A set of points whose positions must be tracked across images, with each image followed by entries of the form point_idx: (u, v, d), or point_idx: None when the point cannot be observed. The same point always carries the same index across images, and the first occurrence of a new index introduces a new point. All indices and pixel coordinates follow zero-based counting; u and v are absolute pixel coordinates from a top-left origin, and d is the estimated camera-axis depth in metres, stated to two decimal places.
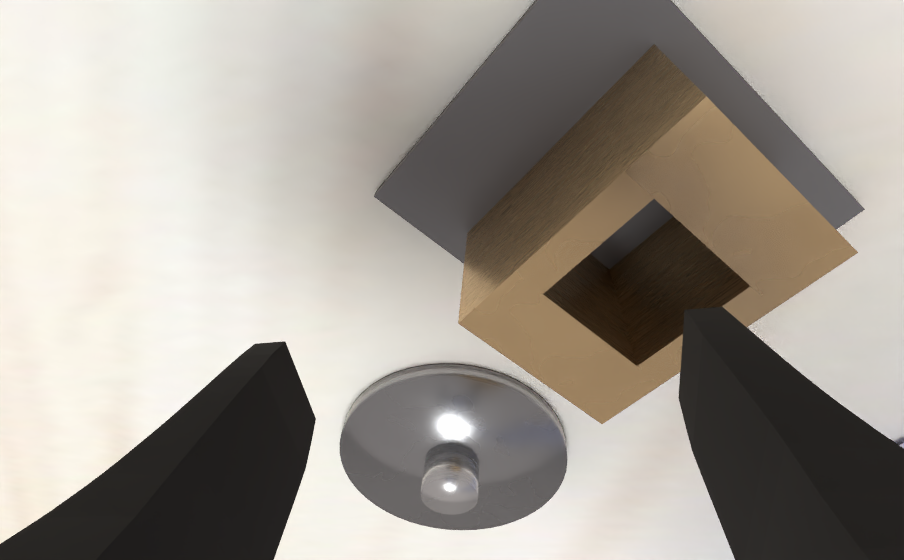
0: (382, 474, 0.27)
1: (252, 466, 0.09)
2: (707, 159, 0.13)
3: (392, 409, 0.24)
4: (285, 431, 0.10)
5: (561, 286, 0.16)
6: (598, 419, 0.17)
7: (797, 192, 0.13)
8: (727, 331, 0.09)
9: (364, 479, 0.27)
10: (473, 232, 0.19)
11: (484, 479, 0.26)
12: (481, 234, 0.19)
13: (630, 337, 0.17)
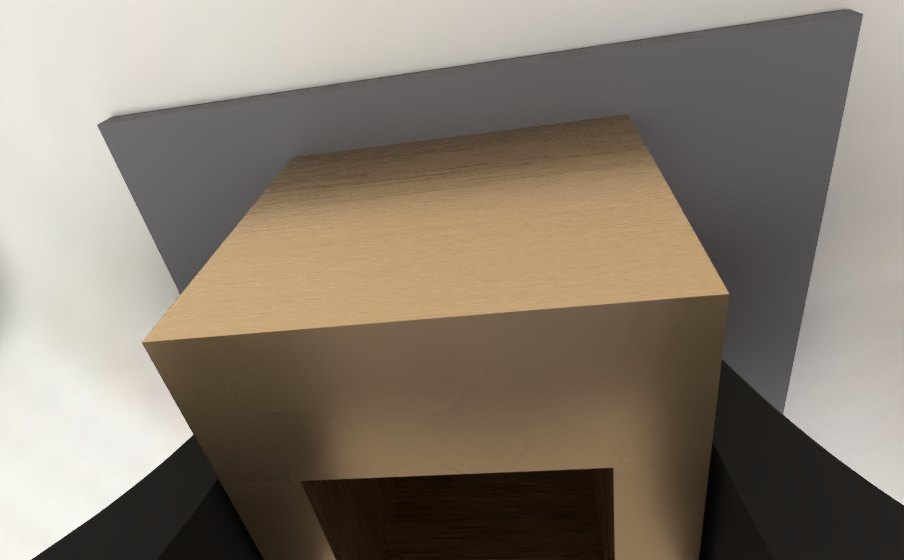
0: None
1: None
2: (273, 395, 0.06)
3: None
4: None
5: None
6: None
7: (457, 320, 0.05)
8: None
9: None
10: None
11: None
12: None
13: (604, 554, 0.09)
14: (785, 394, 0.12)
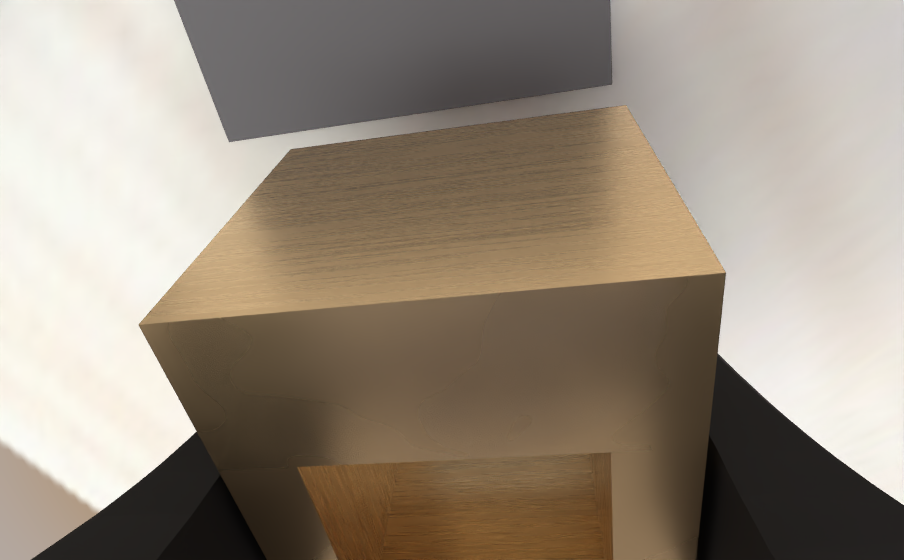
0: None
1: None
2: (270, 379, 0.06)
3: None
4: None
5: (429, 554, 0.10)
6: None
7: (454, 301, 0.05)
8: None
9: None
10: None
11: None
12: None
13: (602, 545, 0.09)
14: None
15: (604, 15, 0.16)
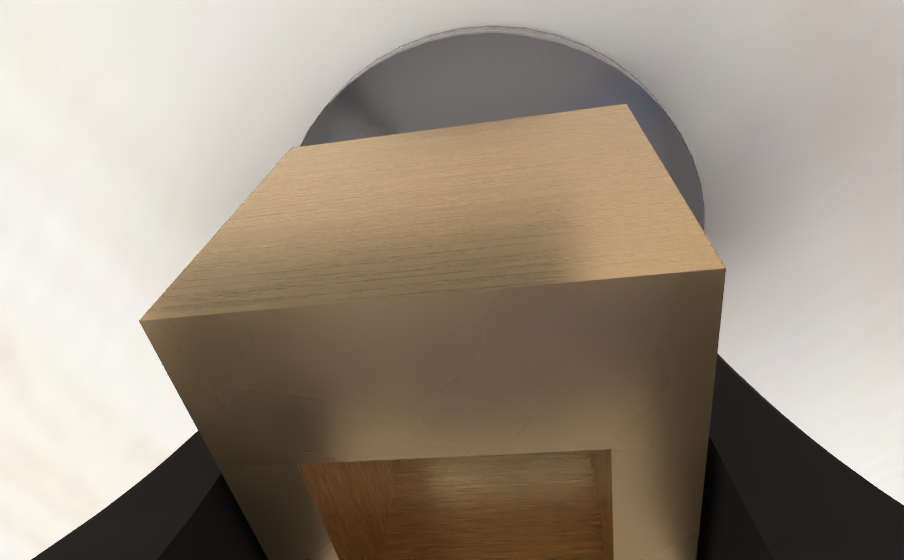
0: None
1: None
2: (270, 375, 0.06)
3: None
4: None
5: (429, 553, 0.10)
6: None
7: (454, 296, 0.05)
8: None
9: None
10: None
11: None
12: None
13: (603, 544, 0.09)
14: None
15: None
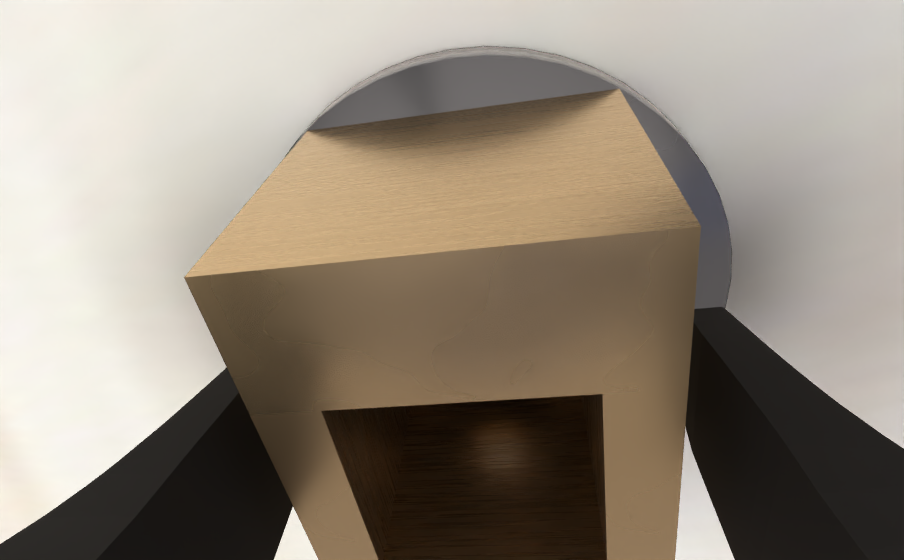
0: None
1: (252, 466, 0.09)
2: (299, 327, 0.07)
3: None
4: None
5: (436, 504, 0.10)
6: None
7: (464, 253, 0.06)
8: (726, 331, 0.09)
9: None
10: None
11: None
12: None
13: (597, 495, 0.10)
14: None
15: None
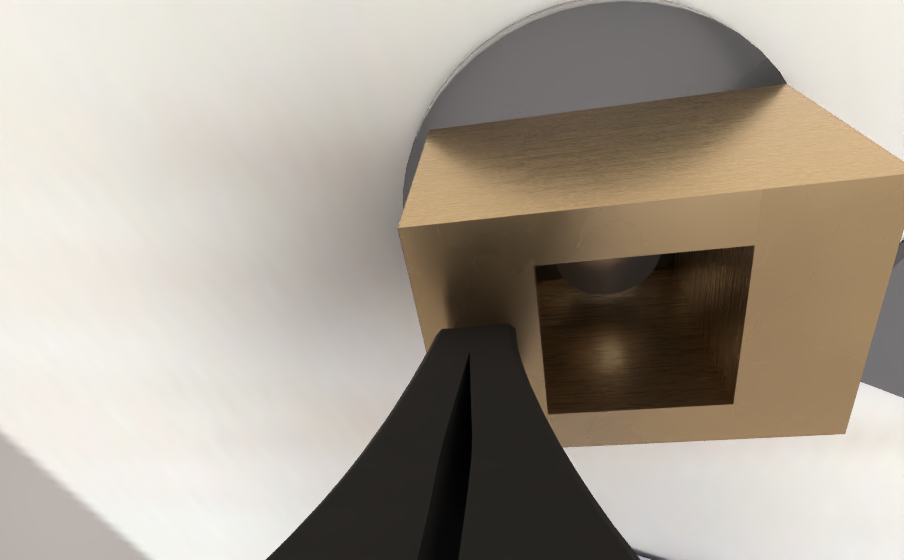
0: (521, 111, 0.14)
1: (468, 456, 0.09)
2: (844, 243, 0.09)
3: (713, 86, 0.13)
4: None
5: (534, 269, 0.12)
6: None
7: (870, 341, 0.10)
8: (492, 348, 0.09)
9: (492, 80, 0.13)
10: (441, 133, 0.14)
11: None
12: (459, 142, 0.13)
13: (546, 374, 0.13)
14: (876, 386, 0.18)
15: None
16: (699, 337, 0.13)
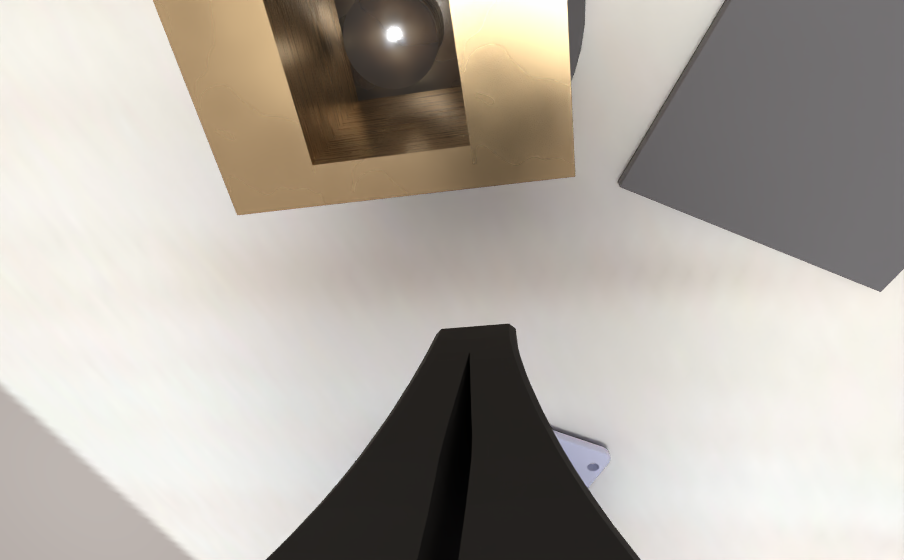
0: None
1: (468, 456, 0.09)
2: None
3: None
4: None
5: (290, 24, 0.13)
6: (236, 206, 0.14)
7: (568, 65, 0.12)
8: (492, 348, 0.09)
9: None
10: None
11: (385, 90, 0.17)
12: None
13: (328, 146, 0.14)
14: (692, 215, 0.19)
15: (674, 203, 0.19)
16: None
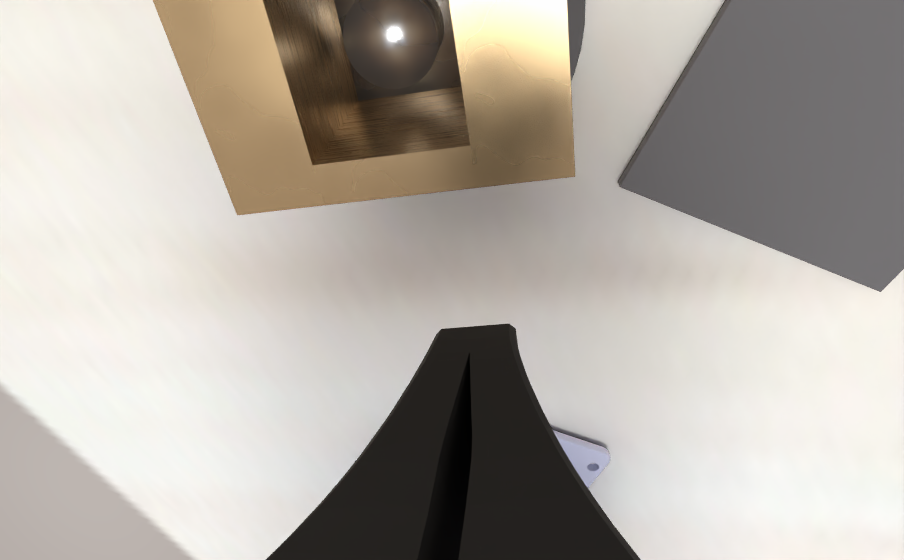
0: None
1: (468, 456, 0.09)
2: None
3: None
4: None
5: (290, 24, 0.13)
6: (236, 206, 0.14)
7: (568, 65, 0.12)
8: (492, 348, 0.09)
9: None
10: None
11: (385, 90, 0.17)
12: None
13: (328, 146, 0.14)
14: (692, 215, 0.19)
15: (674, 203, 0.19)
16: None
